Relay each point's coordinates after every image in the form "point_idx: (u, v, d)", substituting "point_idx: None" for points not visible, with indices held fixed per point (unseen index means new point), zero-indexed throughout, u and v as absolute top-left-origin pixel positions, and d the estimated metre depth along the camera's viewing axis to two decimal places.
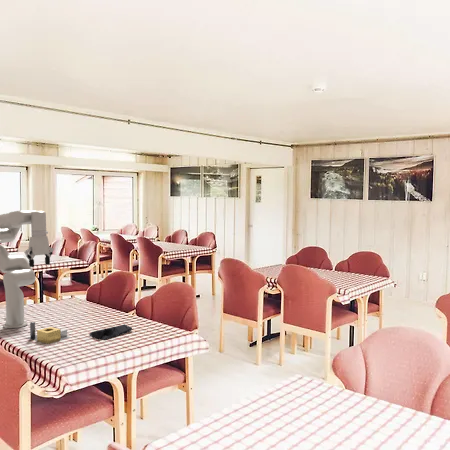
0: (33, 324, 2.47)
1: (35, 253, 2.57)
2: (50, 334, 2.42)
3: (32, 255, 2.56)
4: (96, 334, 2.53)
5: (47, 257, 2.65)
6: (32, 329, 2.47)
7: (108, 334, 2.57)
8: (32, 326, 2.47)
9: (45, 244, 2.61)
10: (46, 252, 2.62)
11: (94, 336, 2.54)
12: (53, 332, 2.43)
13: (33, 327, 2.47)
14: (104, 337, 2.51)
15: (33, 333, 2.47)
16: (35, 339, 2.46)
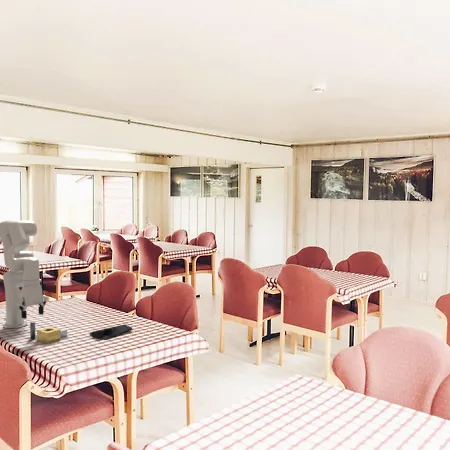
0: (33, 324, 2.47)
1: (28, 304, 2.42)
2: (50, 334, 2.42)
3: (24, 306, 2.42)
4: (96, 334, 2.53)
5: (41, 307, 2.50)
6: (32, 329, 2.47)
7: (108, 334, 2.57)
8: (32, 326, 2.47)
9: (38, 293, 2.47)
10: (39, 302, 2.48)
11: (94, 336, 2.54)
12: (53, 332, 2.43)
13: (33, 327, 2.47)
14: (104, 337, 2.52)
15: (33, 333, 2.47)
16: (35, 339, 2.46)
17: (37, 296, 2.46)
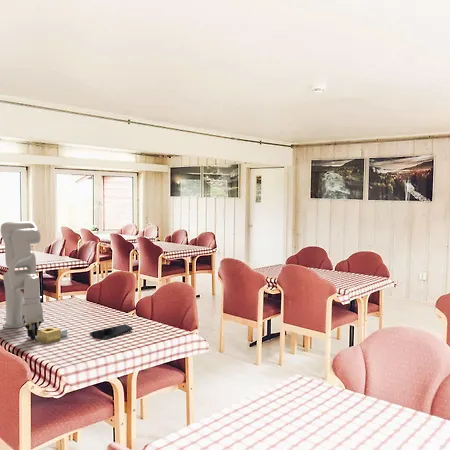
0: (33, 324, 2.47)
1: (28, 322, 2.43)
2: (50, 334, 2.42)
3: (29, 326, 2.45)
4: (96, 334, 2.53)
5: (35, 328, 2.49)
6: (32, 329, 2.47)
7: (108, 334, 2.57)
8: (32, 326, 2.47)
9: (38, 311, 2.48)
10: (40, 319, 2.49)
11: (94, 336, 2.54)
12: (53, 332, 2.43)
13: (33, 327, 2.47)
14: (104, 337, 2.52)
15: (33, 333, 2.47)
16: (35, 339, 2.46)
17: (37, 314, 2.47)
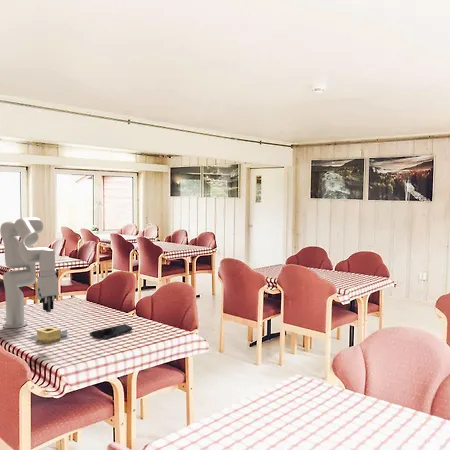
0: (48, 297, 2.43)
1: (43, 295, 2.40)
2: (50, 334, 2.42)
3: (44, 299, 2.41)
4: (96, 334, 2.53)
5: None
6: (47, 302, 2.43)
7: (108, 334, 2.57)
8: (47, 299, 2.43)
9: (54, 284, 2.44)
10: (55, 293, 2.45)
11: (94, 336, 2.54)
12: (53, 332, 2.43)
13: (48, 300, 2.43)
14: (104, 337, 2.52)
15: (48, 306, 2.44)
16: (35, 339, 2.46)
17: (53, 287, 2.44)
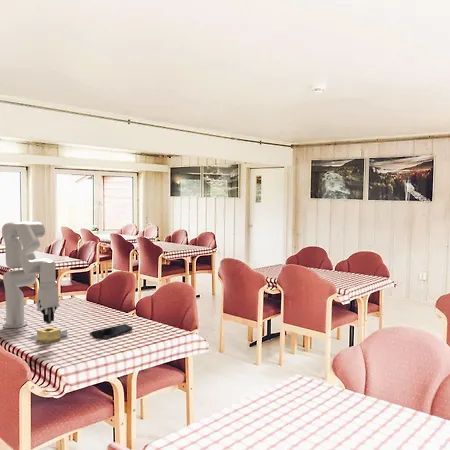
0: (49, 309, 2.44)
1: (44, 306, 2.40)
2: (50, 334, 2.42)
3: (45, 310, 2.42)
4: (96, 333, 2.53)
5: (51, 313, 2.45)
6: (48, 314, 2.44)
7: (108, 333, 2.58)
8: (48, 311, 2.43)
9: (54, 296, 2.45)
10: (55, 304, 2.46)
11: (94, 335, 2.54)
12: (53, 332, 2.43)
13: (49, 312, 2.44)
14: (104, 336, 2.52)
15: (49, 318, 2.44)
16: (35, 339, 2.46)
17: (53, 298, 2.44)
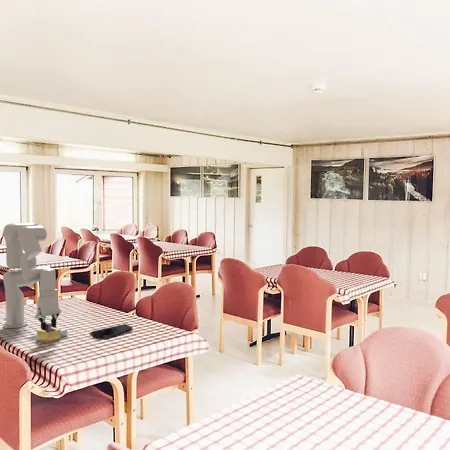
0: (49, 325, 2.44)
1: (44, 314, 2.40)
2: (50, 334, 2.42)
3: (43, 318, 2.41)
4: (97, 333, 2.54)
5: (53, 319, 2.47)
6: (48, 330, 2.44)
7: (109, 333, 2.58)
8: (48, 328, 2.44)
9: (54, 304, 2.45)
10: (55, 312, 2.46)
11: (95, 335, 2.55)
12: (53, 332, 2.43)
13: (49, 328, 2.44)
14: (105, 336, 2.52)
15: None
16: (35, 339, 2.46)
17: (53, 306, 2.44)
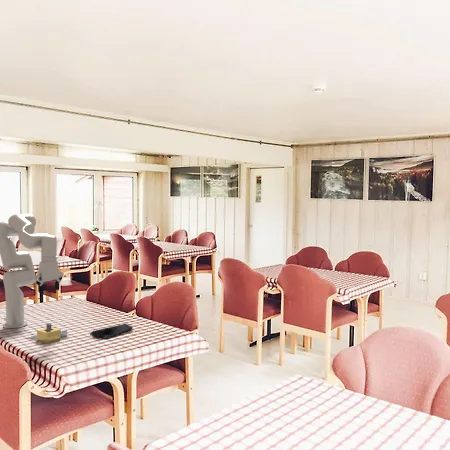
0: (49, 325, 2.45)
1: (44, 279, 2.49)
2: (50, 334, 2.42)
3: (41, 281, 2.48)
4: (97, 333, 2.54)
5: (57, 282, 2.57)
6: (48, 330, 2.44)
7: (109, 333, 2.58)
8: (48, 327, 2.44)
9: (55, 270, 2.53)
10: (56, 278, 2.54)
11: (95, 335, 2.55)
12: (53, 332, 2.43)
13: (49, 328, 2.45)
14: (105, 336, 2.53)
15: None
16: (35, 339, 2.46)
17: (54, 272, 2.53)
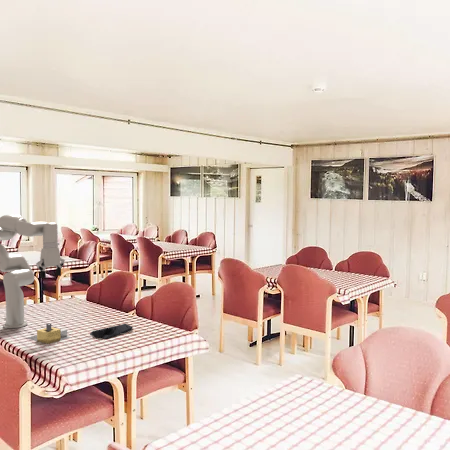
0: (49, 325, 2.44)
1: (47, 265, 2.58)
2: (50, 334, 2.42)
3: (44, 267, 2.58)
4: (97, 333, 2.54)
5: (58, 268, 2.66)
6: (48, 330, 2.44)
7: (109, 333, 2.58)
8: (48, 327, 2.44)
9: (56, 255, 2.63)
10: (57, 263, 2.64)
11: (95, 335, 2.55)
12: (53, 332, 2.43)
13: (49, 328, 2.44)
14: (105, 336, 2.53)
15: None
16: (35, 339, 2.46)
17: (55, 258, 2.62)
